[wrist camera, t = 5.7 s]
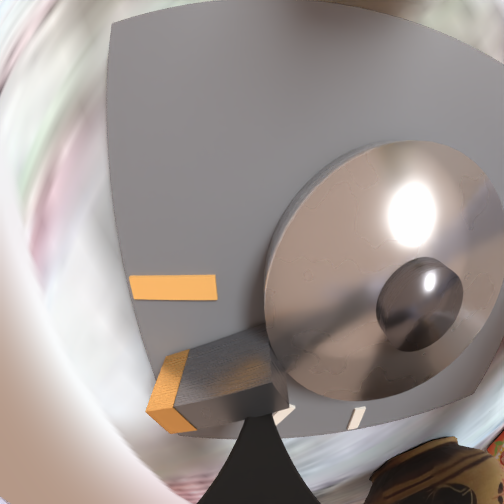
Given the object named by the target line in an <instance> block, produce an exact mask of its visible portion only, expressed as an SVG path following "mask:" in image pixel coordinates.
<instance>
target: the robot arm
mask: <svg viewBox="0 0 504 504" xmlns="http://www.w3.org/2000/svg"><path fill="white" fill-rule="evenodd" d="M0 504H10V503H9V502H7V501H6V500H5V499H3V498H2V497H0ZM197 504H321V503H320V502H319V501H318V500H317V499H316V497H315V496H314V495H313V494H312V492H311V491H310V489H309V488H308V487H307V485H306V484H305V482H304V481H303V479H302V478H301V476H300V474H299V473H298V471H297V469H296V468H295V466H294V464H293V462H292V460H291V459H290V457H289V455H288V453H287V451H286V449H285V446H284V444H283V442H282V440H281V437H280V435H279V433H278V430H277V427H276V425H275V422H274V419H273V416H272V413H270V414H266V415H263V416H259V417H247V418H245V421H244V424H243V426H242V429H241V431H240V434H239V436H238V439H237V441H236V443H235V445H234V447H233V449H232V451H231V453H230V455H229V457H228V459H227V461H226V462H225V464H224V466H223V467H222V469H221V471H220V472H219V474H218V475H217V477H216V479H215V480H214V481H213V483H212V484H211V486H210V487H209V489H208V490H207V491H206V493H205V494H204V495H203V497H202V498H201V499H200V500H199V502H198V503H197Z"/></svg>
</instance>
